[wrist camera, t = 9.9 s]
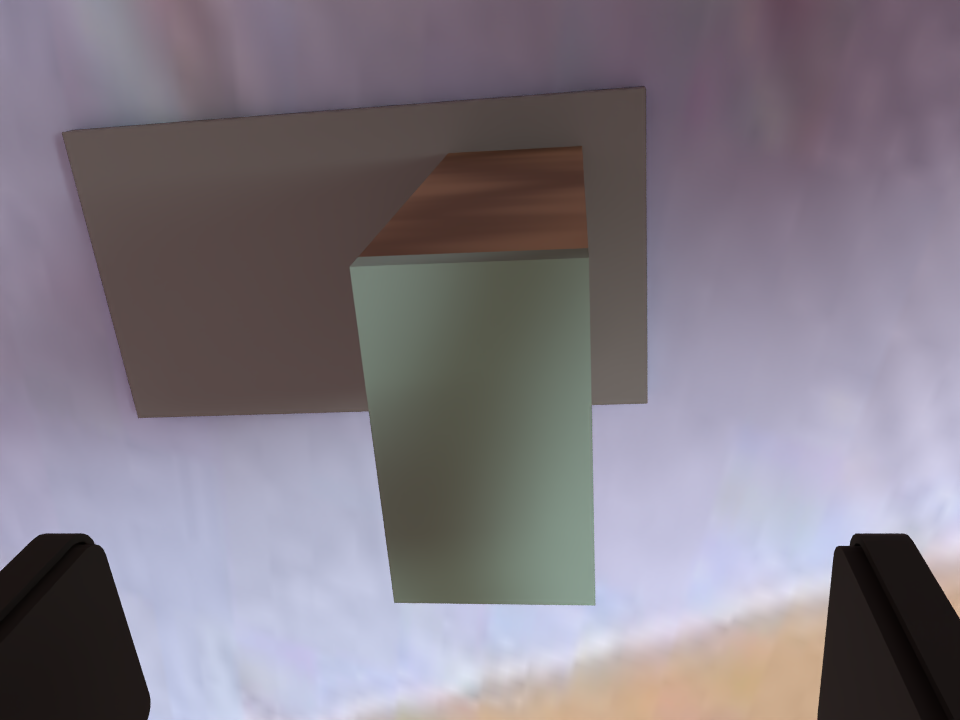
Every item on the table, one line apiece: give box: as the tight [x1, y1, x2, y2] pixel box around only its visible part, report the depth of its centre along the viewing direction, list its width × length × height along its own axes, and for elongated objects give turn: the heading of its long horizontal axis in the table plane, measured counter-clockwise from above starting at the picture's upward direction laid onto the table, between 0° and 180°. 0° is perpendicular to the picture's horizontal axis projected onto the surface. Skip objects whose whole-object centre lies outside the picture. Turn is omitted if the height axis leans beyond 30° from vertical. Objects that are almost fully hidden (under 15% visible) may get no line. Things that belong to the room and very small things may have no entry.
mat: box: [62, 86, 647, 418], centre depth 27 cm, size 18×10×1 cm, turn 95°
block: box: [350, 146, 595, 605], centre depth 21 cm, size 4×7×12 cm, turn 4°
